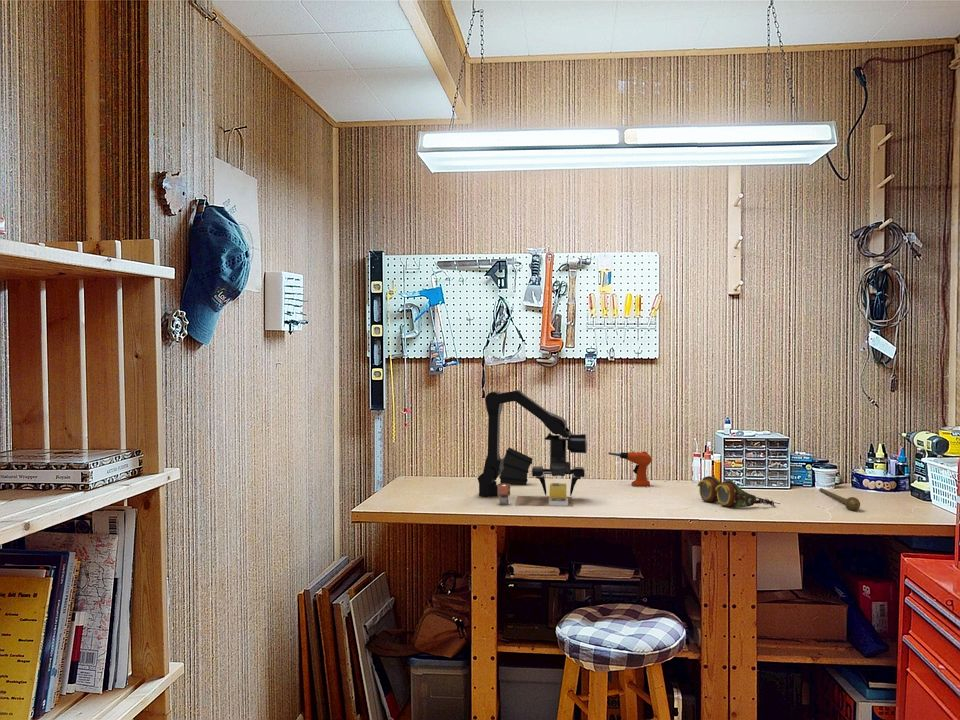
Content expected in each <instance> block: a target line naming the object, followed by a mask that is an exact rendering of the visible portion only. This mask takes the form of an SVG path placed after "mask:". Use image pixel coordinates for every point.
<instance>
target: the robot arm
mask: <svg viewBox="0 0 960 720" xmlns="http://www.w3.org/2000/svg"><path fill="white" fill-rule="evenodd" d="M522 391H523V390H520V389H517V390H513V391H507V392H500V391H498V390H493V391H491V392H489V393H487V394H486V396H485V398H484V399H485V400H484V401H485V409H486V412H487V415H488V426H487V427H488V430H487V431H488V432H487V455H486V458H485V461H484V465H483V466H484V467H483V472H482V473H481V474H480V475H479V476H478V477H477V478H476V479H477V481H478V496H479V497H483V498H493V497H494V498H495V497H498V496H499V495H498V484H497V481H496V480H498V479H497V478H498V477H500V475H501V473H502V470H503V469H504V466H503V463H504V457H503V458H501V456H500V436H501V435H500V429H501V426H500V425H501V415H502V411H503V408H504V404H507V403H510V402H511V403H512V402H516V404H518V405H520V406H521V407H522V408H524V409H525V410H526V411H528V412H529V413H531V414H532V415H533V416H534V417H536V418H537V419H539V421H541V422H542V423H543V425H544V426H545V427H546V428H547V429H548V430H549V431H550V432H549V433H548V434H547V436H545V437H544V440H545V441H550V442H549V444H550V445H549V455H550V457H549V460H550V461H549V468H544V466H543V465H542V466H537V465H534V466H533V467H532V469H531V476H532V477H535V479H538V480H539V481H540V483H541V486H542V489H543V492H544V496H547V486H546V485H547V484H546V477H545V475H551V476H552V477H556V476H557V477H565V476H566V475H571V479H570V488H569V497H572V495H573V492H574V488H575V486H576V484H577V481H578V480H581V478H585V474H586V473H585V468H584V467H583V466H573V467H572V468H571V462H570V461H567V450H568V451H569V452H570V453H571V454H587V453H588V452H587V451H588V442H587V434H586V433H582V434H577V433H576V434H574V433H572V432H571V430H570V429H569V427H568V424H567V421H566V419H565V418H564V417H562V416H559V415H557V414H555V413H553V412H551V411H548V410H546V409H545V408H544V407H542V406H541V405H540V404H538V403H537V402H535V400H533V399H531V398H530V397H529V396H527V395H526V394H525V393H524V392H522Z"/></svg>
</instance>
